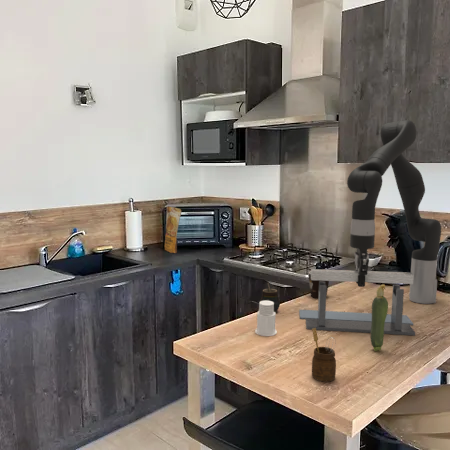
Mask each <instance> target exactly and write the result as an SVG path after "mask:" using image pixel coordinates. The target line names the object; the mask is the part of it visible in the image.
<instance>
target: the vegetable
mask: <svg viewBox="0 0 450 450" xmlns="http://www.w3.org/2000/svg"><path fill="white" fill-rule="evenodd" d="M385 284H386V283H382V284H381V285H380V286H379V287H378V288H377V290H376V296H375V297H374V298H373V299H372V302H371V303H372V304H371V313H372V325H371V333H370V343H371V346H372V348H373V350H374V352H377V351H381V350H382V346H383V345H384V335H385V334H384V324H385V319H386V316H387V314H388V311H389V303H388V300H387V298H386V297H385V290H386V285H385Z"/></svg>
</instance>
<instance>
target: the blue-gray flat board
mask: <svg viewBox="0 0 450 450" xmlns="http://www.w3.org/2000/svg"><path fill="white" fill-rule="evenodd" d="M298 312H299V320H306V318H307V319H318V309H317V310H316V309H315V310H313V309H299V311H298ZM325 319H326V320H344V321H362V322H372V312H353V311H333V310H326V314H325ZM385 323H391V313H390V314H389V313H387V316H386V319H385ZM402 324H409V325H410V326H414V322H413V321H412V320H411V319H410V317H409V316H408V315H407V314H402Z"/></svg>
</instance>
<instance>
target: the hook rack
mask: <svg viewBox="0 0 450 450" xmlns="http://www.w3.org/2000/svg"><path fill="white" fill-rule="evenodd" d="M326 288H327V286H325V282H321V281H319V299H317V300H318V301H317V305H318V308H317V310H318V319H307V318H306V319H305V325H306V326H305V327H306V330H310V331H311V330H312V329H313V331H314V329H315V328H316V331H327V332H328V331H329V332H331V331H333V332H346V333H347V332H349V333H363V334H365V333H366V334H368V333H369V334H371V325H372V322H362V321H344V320H326V319H325V314H326V311H327V308H326V307H327V297H326ZM404 295H405V289H404V288H401V285H400V284H392V295H391V297H392V298H391V310H390V311H391V313H390V314H391V323H385V324H384V335H399V336H413V337H415V336H416V332H415V330H414V328H412V327H411V326H412V325H409V324H402V315H403V311H404V309H403V308H404V297H405V296H404Z"/></svg>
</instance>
